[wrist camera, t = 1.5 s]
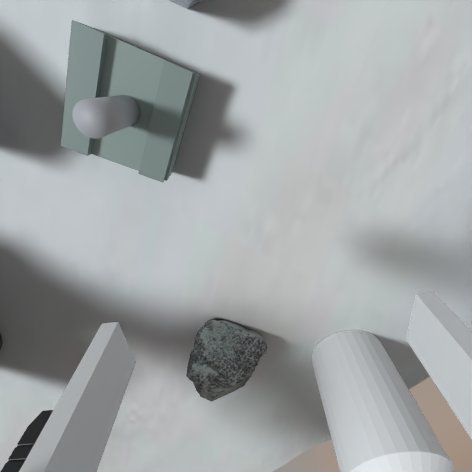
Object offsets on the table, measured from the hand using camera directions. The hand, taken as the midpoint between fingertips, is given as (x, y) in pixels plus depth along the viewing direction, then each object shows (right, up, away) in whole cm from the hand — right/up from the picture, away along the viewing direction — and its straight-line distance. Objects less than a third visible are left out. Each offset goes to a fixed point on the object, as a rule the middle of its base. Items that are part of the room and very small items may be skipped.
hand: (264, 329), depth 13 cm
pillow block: (-11, +17, +15) cm, 25 cm away
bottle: (+16, -15, +33) cm, 40 cm away
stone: (-3, -11, +31) cm, 33 cm away
